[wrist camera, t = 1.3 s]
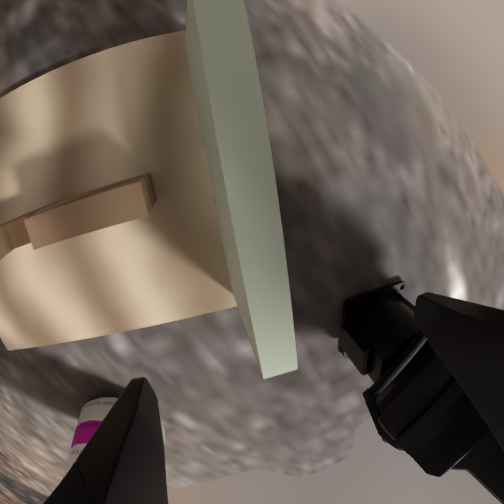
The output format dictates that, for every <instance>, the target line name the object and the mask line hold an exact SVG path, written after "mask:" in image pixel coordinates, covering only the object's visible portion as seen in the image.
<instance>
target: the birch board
mask: <svg viewBox="0 0 504 504" xmlns="http://www.w3.org/2000/svg"><path fill="white" fill-rule="evenodd" d="M185 36H186V30H183V31H177V32H172V33H167V34H162V35H158V36H153V37H149V38H145V39H141V40H137V41H133V42H130V43H126V44H123V45H119V46H116V47H113V48H110V49H107V50H103V51H101V52H98V53H95V54H92V55H89V56H86V57H84V58H81V59H79V60H76V61H74V62H71V63H69V64H66V65H64V66H61V67H59V68H57V69H55V70H52V71H50V72H48V73H46V74H44V75H42V76H40V77H38V78H36V79H34V80H32V81H30V82H28V83H26V84H24V85H22V86H20V87H18V88H17V89H15V90H13V91H11V92H10V93H8V94H6V95H4V96H3V97H1V98H0V224H2V223H5V222H7V221H9V220H12V219H14V218H16V217H19V216H21V215H24V214H26V213H29V212H31V211H34V210H36V209H39V208H41V207H44V206H47V205H49V204H52V203H55V202H57V201H60V200H63V199H66V198H69V197H72V196H75V195H78V194H81V193H84V192H87V191H90V190H93V189H96V188H99V187H102V186H106V185H109V184H112V183H115V182H119V181H122V180H126V179H129V178H133V177H137V176H140V175H144V174H148V173H151V177H152V182H153V186H154V190H155V195H156V199H157V200H156V202H155V204H154V206H153V208H152V210H151V213H150V215H149V216H147V217H144V218H140V219H136V220H132V221H128V222H125V223H121V224H117V225H114V226H110V227H107V228H103V229H100V230H96V231H93V232H89V233H86V234H83V235H79V236H76V237H73V238H70V239H66V240H63V241H60V242H57V243H54V244H50V245H47V246H44V247H41V248H38V249H35V250H34V249H33V246H32V243H29V244H26V245H23V246H20V247H18V248H15V249H13V250H12V251H11V252H10V253H8V254H7V255H6V256H5V257H3V258H2V259H1V260H0V338H1V340H2V342H3V343H4V345H5V347H6V348H7V350H8V351H11V350H18V349H25V348H32V347H39V346H45V345H52V344H58V343H64V342H70V341H76V340H82V339H87V338H93V337H98V336H104V335H109V334H114V333H119V332H124V331H129V330H134V329H139V328H144V327H149V326H153V325H158V324H163V323H167V322H172V321H176V320H181V319H185V318H189V317H194V316H198V315H202V314H207V313H211V312H215V311H219V310H223V309H227V308H231V307H235V306H237V304H236V301H235V298H234V295H233V292H232V287H231V283H230V278H229V273H228V269H227V264H226V260H225V255H224V250H223V246H222V241H221V236H220V231H219V227H218V222H217V217H216V212H215V207H214V202H213V198H215V196H214V191H213V186H212V180H211V175H210V170H209V165H208V160H207V154H206V149H205V148H203V145H202V140H201V134H200V129H199V123H198V118H197V112H196V107H195V101H194V95H193V89H192V83H191V77H190V71H189V65H188V59H187V53H186V46H185Z"/></svg>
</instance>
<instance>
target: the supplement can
mask: <svg viewBox="0 0 504 504" xmlns="http://www.w3.org/2000/svg"><path fill="white" fill-rule="evenodd" d="M117 399H118V398H115V397H101V398H98V399H95V400H92V401H89V402H87V403H86V404H85V405H84V406H83V407H82V410H81V413H80V416H79V420H78V423H77V427H76V431H75V434H74V438H73V442H72V446H71V450H70V454H69V459H68V463H67V467H66V472H65V475H66V474H67V472H68V471H69V469H70V468H71V466H72V465H73V463H74V462H76V459H77V458H78V456H79V455H80V453H81V452H82V450H83V449H84V447H85V446H86V444H87V443H88V441H89V440H90V438H91V437H92V435H93V434H94V432H95V431H96V430H97V428H98V427H99V425H100V424H101V422H102V421H103V419H104V418H105V416H106V415H107V414H108V412H109V411H110V409H111V408H112V406H113V405H114V403H115V402H116V401H117ZM161 428H162V434H163V441H164V442H165V430H164V427H163V424H162V423H161Z"/></svg>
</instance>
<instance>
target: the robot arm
mask: <svg viewBox="0 0 504 504" xmlns="http://www.w3.org/2000/svg"><path fill="white" fill-rule="evenodd" d="M405 294H406V283H405V282H404V281H402V280H401V281H398V282H395V283H393V284H390V285H387V286H384V287H382V288H379V289H376V290H373V291H370V292H367V293H364V294H362V295H359V296H356V297H353V298H350V299H347V300H346V301H345V302H344V305H343V325H342V331H341V347H342V354H343V356H344V357H345V358H350V360H351V361H352V362H353V364H354V365H355V366H356V368H357V369H358V370H359V372H360V373H361V374H362V375H367V374H368V375H369V376H370V378H371V379H372V380H373V382H374V384H373V385H372V386H371V387H370V388H369V389H367V390H366V391H365V392H364V393H363V396H364V398H365V401H366V404H367V407H368V409H369V412H370V414H371V416H372V419H373V421H374V424H375V426H376V429H377V431H378V434H379V435H380V436H381V437H382V440H383V441H384V442H386V443H389V444H390V445H392V446H393V447H395V448H396V449H398V450H402V451H405V452H406V453H408V454H409V455H410V456H411V457H412V458H413V459H414V460H415V461H416V462H417V463H418V464H419V465H420V466H421V468H422V469H423V470H424V471H425V472H426V473H427V474H430V475H433V476H437V477H441V476H442V475H444V474H445V473H446V472H447V471H448V470H450V469H453V470H466V471H468V472H469V473H470V474H471V475H472V476H473V477H475V478H476V479H477V480H478V481H479V482H480V483H481V484H482V485H483V486H484V487H485V488H486V489H487V490H488V491H489V492H490V493H491V494H492V495H493V496H494V497H496V499H498V500H499V501H500V502H501V503H502V504H504V310H501V309H496V308H492V307H488V306H484V305H480V304H476V303H471V302H467V301H463V300H459V299H455V298H450V297H446V296H442V295H438V294H434V293H430V292H426V293H423V294H421V295H419V296H418V297H417V299H416V305H415V306H414V305H412V304H411V303H410V302H409V301H408V300H406V299H405ZM350 304H351V305H350ZM349 305H350V306H349ZM43 504H168V496H167V485H166V471H165V453H164V441H163V434H162V428H161V422H160V415H159V407H158V400H157V397H156V394H155V393H154V391H153V389H152V387H151V386H150V384H149V382H148V380H147V379H146V378H145V377H139V378H134V379H132V380H131V381H130V382H129V384H128V385H127V386H126V388H125V389H124V391H123V392H122V393H121V395H120V396H119V398H118V399H117V401H116V402H115V403H114V405H113V406H112V408H111V409H110V411H109V412H108V414H107V415H106V416H105V418H104V419H103V421H102V422H101V424H100V425H99V427H98V428H97V430H96V431H95V432H94V434H93V435H92V437H91V438H90V440H89V441H88V443H87V444H86V446H85V447H84V449H83V450H82V452H81V453H80V455H79V456H78V458H77V459H76V462H74V463H73V465H72V466H71V468H70V469H69V471H68V472H67V474H66V475H65V477H64V478H63V479H62V481H61V482H60V484H59V485H58V486H57V487H56V489H55V490H54V491H53V492H52V494H51V495H50V496H49V497H48V499H47V500H46V501H45V502H44V503H43Z"/></svg>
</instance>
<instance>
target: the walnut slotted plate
mask: <svg viewBox="0 0 504 504" xmlns="http://www.w3.org/2000/svg"><path fill="white" fill-rule="evenodd" d="M156 200H157V199H156V195H155V190H154V186H153V182H152V177H151V173H148V174H144V175H140V176H137V177H133V178H129V179H126V180H122V181H119V182H115V183H112V184H109V185H106V186H102V187H99V188H96V189H93V190H90V191H87V192H84V193H81V194H78V195H75V196H72V197H69V198H66V199H63V200H60V201H57V202H55V203H52V204H49V205H47V206H44V207H41V208H39V209H36V210H34V211H31V212H29V213H26V214H24V215H21V216H19V217H16V218H14V219H12V220H9V221H7V222H5V223H2V224H0V260H1V259H2V258H3V257H5V256H6V255H7V254H8V253H10V252H11V251H12V250H13V249H15V248H18V247H20V246H23V245H26V244H29V243H32V246H33V249H34V250H35V249H38V248H41V247H44V246H47V245H50V244H54V243H57V242H60V241H63V240H66V239H70V238H73V237H76V236H79V235H83V234H86V233H89V232H93V231H96V230H100V229H103V228H107V227H110V226H114V225H117V224H121V223H125V222H128V221H132V220H136V219H140V218H144V217H147V216H149V215H150V213H151V210H152V208H153V206H154V204H155V202H156Z"/></svg>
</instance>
